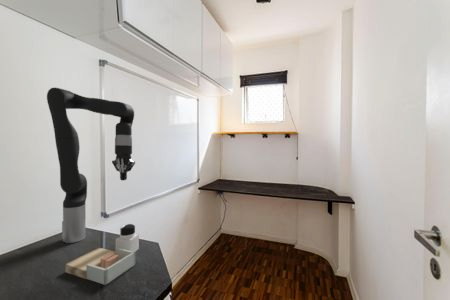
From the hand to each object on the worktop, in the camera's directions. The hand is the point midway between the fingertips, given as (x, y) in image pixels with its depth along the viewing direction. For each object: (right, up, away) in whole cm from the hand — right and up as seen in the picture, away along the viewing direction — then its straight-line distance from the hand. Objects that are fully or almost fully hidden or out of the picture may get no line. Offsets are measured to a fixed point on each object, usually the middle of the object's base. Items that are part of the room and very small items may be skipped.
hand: (123, 180), depth 102 cm
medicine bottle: (+6, -31, -8) cm, 33 cm away
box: (+7, -31, -22) cm, 39 cm away
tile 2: (+6, -29, -22) cm, 36 cm away
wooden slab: (-3, -31, -19) cm, 37 cm away
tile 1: (+3, -29, -21) cm, 36 cm away
